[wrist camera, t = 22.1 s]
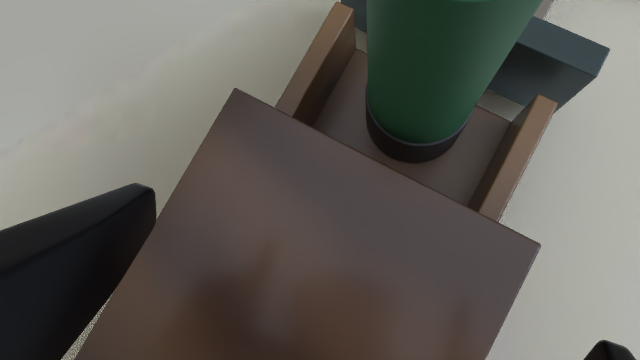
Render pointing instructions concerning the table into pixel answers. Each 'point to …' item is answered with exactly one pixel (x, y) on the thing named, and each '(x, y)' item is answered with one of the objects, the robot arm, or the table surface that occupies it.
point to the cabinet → (308, 258)
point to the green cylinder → (433, 68)
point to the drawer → (483, 127)
